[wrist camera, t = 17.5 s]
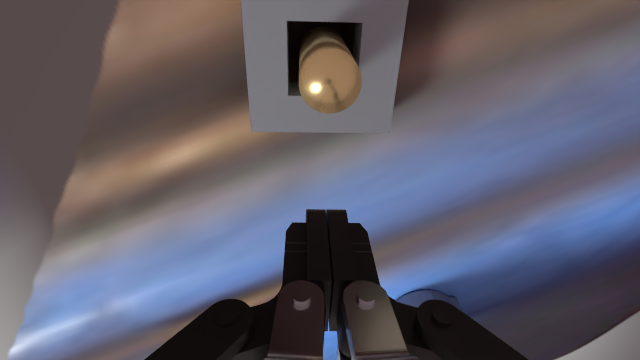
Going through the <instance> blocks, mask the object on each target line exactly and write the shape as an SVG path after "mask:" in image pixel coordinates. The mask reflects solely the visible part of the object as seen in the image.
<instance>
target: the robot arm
mask: <svg viewBox="0 0 640 360" xmlns="http://www.w3.org/2000/svg"><path fill="white" fill-rule="evenodd" d="M328 319H329V331H337V337H338V346H337V358H338V360H528V359H527V358H526V357H524V356H523V355H521V354H520V353H519V352H517V351H516V350H514V349H513V348H512V347H510V346H509V345H508V344H506V343H505V342H503V341H502V340H501V339H499V338H498V337H496V336H495V335H494V334H492V333H491V332H490V331H488V330H487V329H485V328H484V327H483V326H481V325H480V324H478V323H477V322H476V321H474V320H473V319H472V318H470V317H469V316H467V315H466V314H465V313H463V311H462V309H461V307H460V305H459V302H458V300H457V298H456V297H448V296H446V295H444V294H443V293H440V292H437V291H432V290H422V291H415V292H412V293H409V294H406V295H404V296H402V297H401V298H399V299H398V300H396V301H395V300H394V299H392V298H390V297H389V296H388V295H387V293H386V291H385V290H384V289H383V288H382V287H381V286H380V283H379V279H378V275H377V271H376V266H375V262H374V258H373V254H372V250H371V246H370V241H369V237H368V233H367V231H366V230H365V229H364V228H363V227H362V225H361V224H360V223H348V218H347V213H346V210H326V211H325V210H314V209H306V223H292V224H291V225H290V227H289V228H288V229H287V231H286V240H285V254H284V268H283V283H282V287H281V290H280V291H279V293H278V294H277V295H276V296H275V297H274V298H273V299H271V300H270V301H268V302H266V303H263V304H260V305H257V306H253V307H249V306H248V305H247V304H246V303H245V302H243V301H241V300H237V299H226V300H222V301H219V302H217V303H215V304H213V305H212V306H210V307H209V308H208V309H207V310H206V311H204V312H203V313H202V314H201V315H199V316H198V317H197V318H196V319H194V320H193V321H192V322H191V323H189V324H188V325H187V326H186V327H184V328H183V329H182V330H181V331H179V332H178V333H177V334H176V335H174V336H173V337H172V338H171V339H169V340H168V341H167V342H166V343H164V344H163V345H162V346H161V347H159V348H158V349H157V350H156V351H155V352H153V353H152V354H151V355H150V356H148V357H147V358H146V359H145V360H323V343H324V331H328Z"/></svg>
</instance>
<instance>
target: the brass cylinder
mask: <svg viewBox="0 0 640 360" xmlns="http://www.w3.org/2000/svg"><path fill="white" fill-rule="evenodd" d="M361 86H362V76H361V72H360V69H359V67H358V65H357V63H356V62H355V60H354V58H353V56H352V55H351V53H350V51H349V49H348V47H347V46H346V44H345V42H344V40H343V39H342V37H341V35H340V34H339V33H338V32H337V31H336V30H334V29H332V28H330V27H327V26H319V27H315V28H313V29H311V30H309V31H308V32H307V33H306V34H305V35H304V37H303V38H302V40H301V43H300V49H299V89H300V93H301V96H302V98H303V99H304V101H305V102H306V103H307V104H308V105H309V106H310V107H311V108H312V109H314V110H316V111H318V112H321V113H327V114H332V113H338V112H341V111H343V110H345V109H347V108H348V107H350V106H351V105H352V104H353V103H354V102H355V100H356V99H357V97H358V96H359V93H360V90H361Z"/></svg>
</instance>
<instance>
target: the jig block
mask: <svg viewBox="0 0 640 360" xmlns="http://www.w3.org/2000/svg"><path fill="white" fill-rule="evenodd" d="M408 2H409V0H241V8H242V20H243V33H244V46H245V58H246V71H247V84H248V97H249V109H250V122H251V132H323V133H390V128H391V121H392V114H393V107H394V100H395V93H396V86H397V79H398V72H399V65H400V58H401V51H402V44H403V37H404V30H405V23H406V16H407V9H408ZM289 21H313V22H353V23H355V31H354V44H353V58H354V60H355V62H356V63H357V65H358V67H359V69H360V72H361V76H362V86H361V90H360V93H359V96H358V97H357V99H356V100H355V102H354V103H353V104H352V105H351V106H350V107H348V108H347V109H345V110H343V111H341V112H338V113H332V114H327V113H321V112H318V111H316V110H314V109H312V108H311V107H310V106H309V105H308V104H307V103H306V102H305V101H304V99H303V98H302V96H301V93H300V89H299V82H289Z"/></svg>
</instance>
